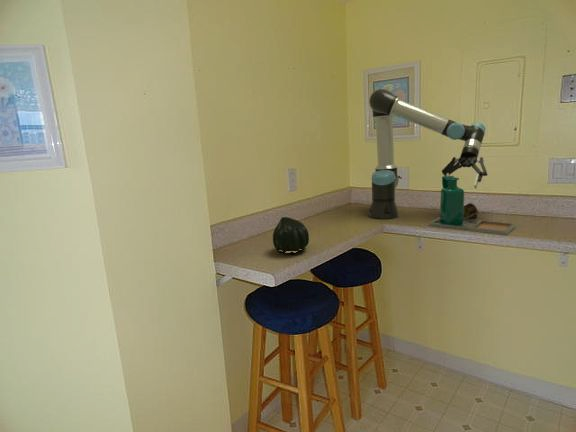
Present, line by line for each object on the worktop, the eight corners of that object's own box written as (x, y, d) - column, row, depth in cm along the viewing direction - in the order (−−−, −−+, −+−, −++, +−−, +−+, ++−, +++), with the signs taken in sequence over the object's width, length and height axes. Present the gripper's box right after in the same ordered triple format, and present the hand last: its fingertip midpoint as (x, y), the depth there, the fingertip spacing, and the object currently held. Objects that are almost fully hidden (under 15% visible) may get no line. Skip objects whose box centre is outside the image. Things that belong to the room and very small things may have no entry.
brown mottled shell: (484, 209, 184) (474, 200, 193) (457, 208, 184) (449, 200, 193) (480, 222, 187) (471, 213, 196) (453, 221, 187) (446, 213, 196)
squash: (322, 237, 153) (300, 207, 157) (297, 248, 143) (275, 216, 147) (303, 254, 163) (283, 226, 166) (279, 266, 152) (258, 236, 156)
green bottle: (464, 225, 177) (466, 177, 172) (446, 227, 177) (448, 179, 172) (454, 220, 187) (455, 175, 182) (437, 222, 186) (438, 176, 181)
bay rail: (428, 225, 181) (428, 222, 180) (441, 218, 192) (441, 216, 191) (506, 235, 159) (506, 231, 159) (515, 226, 171) (515, 223, 170)
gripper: (500, 155, 184) (490, 192, 176) (446, 155, 200) (435, 189, 192) (497, 145, 179) (487, 182, 171) (442, 146, 195) (431, 180, 187)
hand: (459, 186), depth 182 cm, fingers open, 13 cm apart
